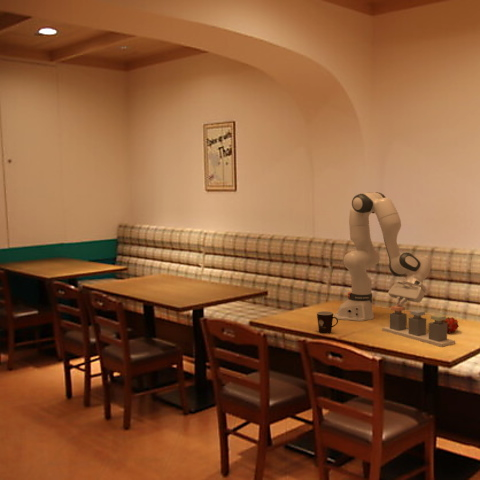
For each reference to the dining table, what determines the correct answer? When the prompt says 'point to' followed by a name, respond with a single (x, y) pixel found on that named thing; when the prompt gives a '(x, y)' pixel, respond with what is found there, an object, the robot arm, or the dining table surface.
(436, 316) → the sage button
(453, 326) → the dragon fruit
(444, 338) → the button console
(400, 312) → the terracotta button
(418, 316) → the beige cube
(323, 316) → the coffee mug
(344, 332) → the dining table surface
